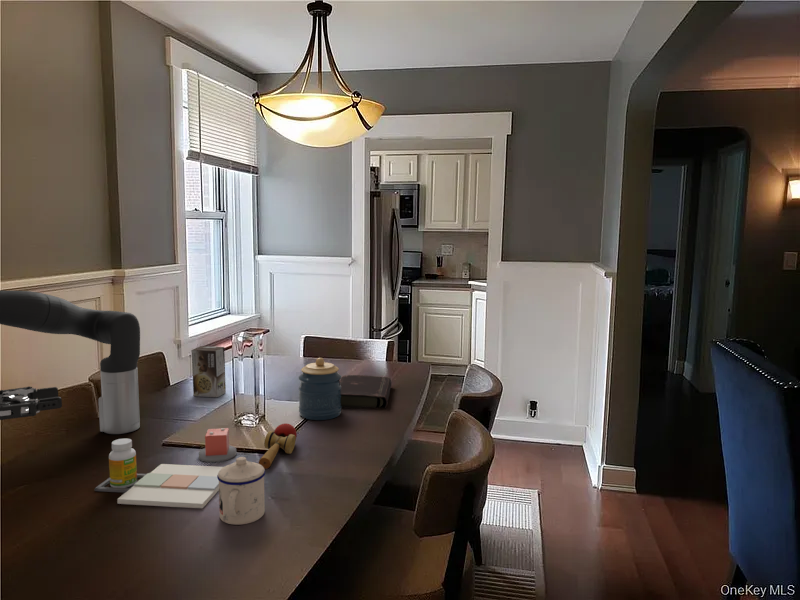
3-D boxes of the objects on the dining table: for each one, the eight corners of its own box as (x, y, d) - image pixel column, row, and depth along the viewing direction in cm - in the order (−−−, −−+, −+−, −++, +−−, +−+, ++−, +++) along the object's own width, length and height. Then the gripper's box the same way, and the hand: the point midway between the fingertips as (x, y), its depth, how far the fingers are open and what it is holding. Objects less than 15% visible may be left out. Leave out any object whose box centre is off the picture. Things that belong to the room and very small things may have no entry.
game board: (80, 501, 119) (79, 495, 119) (128, 466, 137) (128, 460, 137) (202, 508, 117) (202, 501, 116) (235, 471, 134) (235, 465, 134)
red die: (195, 463, 139) (194, 437, 138) (201, 449, 148) (201, 424, 147) (234, 461, 140) (233, 435, 140) (238, 447, 149) (237, 423, 148)
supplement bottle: (126, 490, 124) (124, 446, 123) (104, 487, 125) (102, 444, 124) (142, 479, 130) (140, 438, 128) (121, 477, 131) (119, 436, 129)
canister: (303, 407, 184) (303, 352, 182) (344, 408, 183) (344, 353, 181) (294, 420, 171) (294, 362, 169) (338, 421, 170) (338, 363, 168)
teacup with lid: (226, 503, 119) (225, 449, 117) (270, 504, 119) (269, 449, 117) (206, 534, 107) (205, 474, 106) (255, 534, 107) (254, 474, 106)
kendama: (284, 475, 136) (305, 438, 154) (277, 451, 135) (299, 416, 152) (253, 478, 138) (277, 441, 155) (247, 454, 136) (272, 420, 153)
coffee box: (226, 392, 199) (225, 346, 197) (217, 397, 193) (216, 350, 191) (202, 391, 200) (200, 345, 199) (192, 396, 194) (190, 349, 192)
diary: (391, 389, 208) (391, 376, 208) (387, 411, 183) (387, 395, 183) (340, 387, 209) (340, 374, 208) (328, 408, 184) (329, 393, 183)
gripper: (-43, 399, 103) (62, 386, 112) (-39, 382, 115) (55, 371, 124) (-40, 440, 104) (64, 424, 113) (-37, 418, 115) (57, 405, 125)
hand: (59, 396), depth 118 cm, fingers open, 8 cm apart
